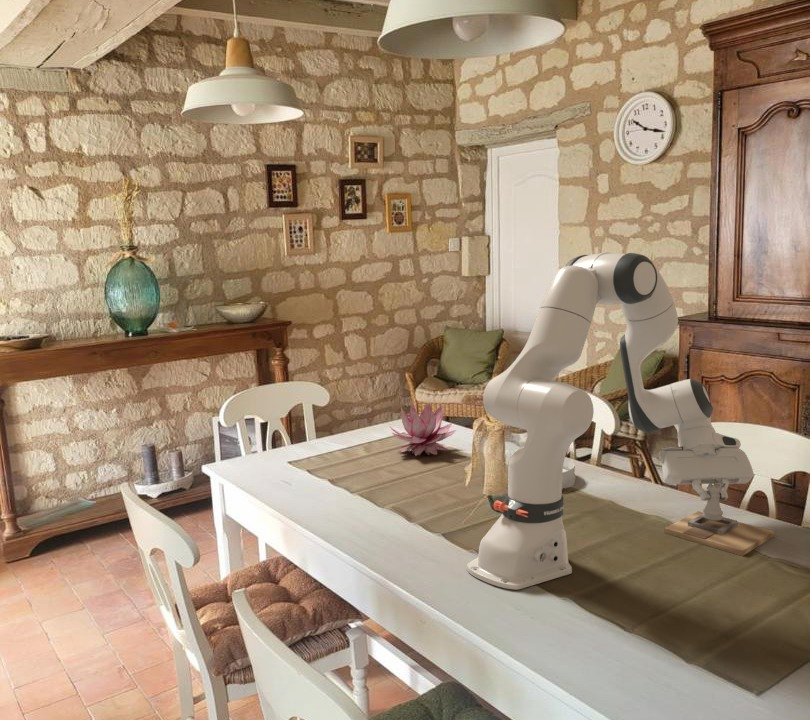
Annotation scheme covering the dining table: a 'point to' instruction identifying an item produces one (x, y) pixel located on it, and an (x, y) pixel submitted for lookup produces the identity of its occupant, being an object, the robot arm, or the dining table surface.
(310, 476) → the dining table surface
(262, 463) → the dining table surface
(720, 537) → the oak board
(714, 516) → the rook chess piece
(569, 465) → the dish
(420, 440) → the decorative flower
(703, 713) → the dining table surface
